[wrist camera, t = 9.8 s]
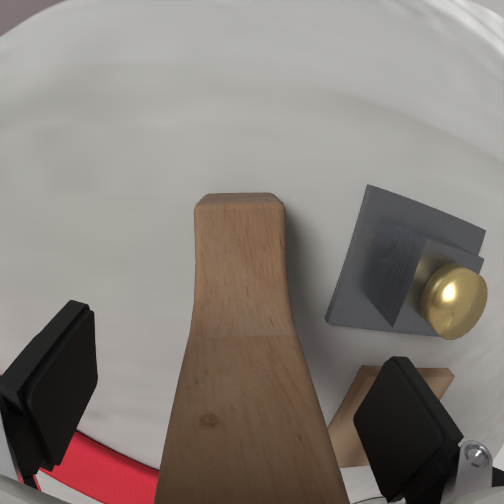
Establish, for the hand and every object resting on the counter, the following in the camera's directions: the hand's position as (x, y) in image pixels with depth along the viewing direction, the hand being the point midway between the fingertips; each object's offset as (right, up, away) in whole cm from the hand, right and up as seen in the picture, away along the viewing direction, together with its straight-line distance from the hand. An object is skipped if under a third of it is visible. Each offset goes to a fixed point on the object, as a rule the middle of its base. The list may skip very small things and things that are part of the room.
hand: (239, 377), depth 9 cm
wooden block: (0, +3, +12) cm, 12 cm away
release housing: (+13, +2, +12) cm, 18 cm away
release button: (+13, +1, +8) cm, 15 cm away
